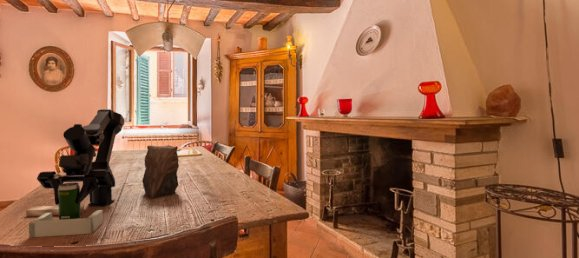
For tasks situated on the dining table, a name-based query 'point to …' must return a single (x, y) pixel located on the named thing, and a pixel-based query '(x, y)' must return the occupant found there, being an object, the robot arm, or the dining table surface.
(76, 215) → the guarana soda can
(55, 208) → the slat
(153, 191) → the brown paper bag
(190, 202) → the dining table surface
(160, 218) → the dining table surface
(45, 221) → the beige u-shaped bracket
